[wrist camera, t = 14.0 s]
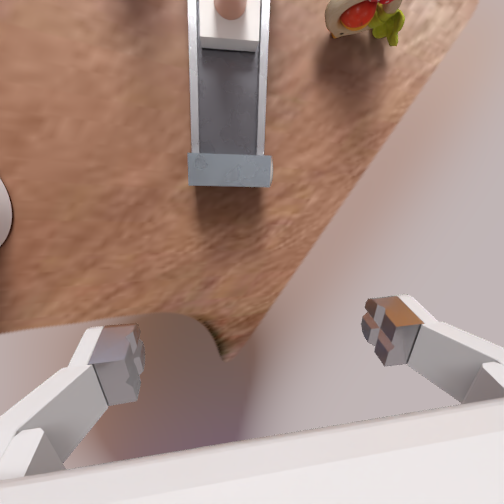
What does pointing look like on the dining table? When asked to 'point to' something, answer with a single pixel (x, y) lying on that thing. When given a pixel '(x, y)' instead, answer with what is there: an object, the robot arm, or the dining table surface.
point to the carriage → (229, 24)
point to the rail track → (228, 110)
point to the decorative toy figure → (365, 18)
